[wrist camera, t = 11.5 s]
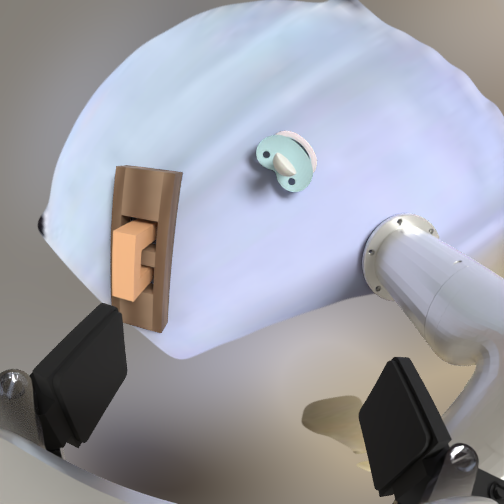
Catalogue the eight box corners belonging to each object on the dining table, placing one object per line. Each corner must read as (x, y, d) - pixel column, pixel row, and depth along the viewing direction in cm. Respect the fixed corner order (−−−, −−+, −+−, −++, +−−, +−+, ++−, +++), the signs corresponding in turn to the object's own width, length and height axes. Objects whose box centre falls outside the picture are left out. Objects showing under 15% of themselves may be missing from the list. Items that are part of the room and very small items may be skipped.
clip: (158, 221, 36) (135, 235, 30) (153, 279, 39) (133, 301, 32) (138, 217, 36) (113, 230, 29) (134, 274, 39) (112, 295, 32)
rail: (182, 172, 34) (175, 173, 31) (167, 322, 41) (161, 333, 38) (127, 165, 34) (116, 166, 31) (120, 309, 41) (112, 319, 38)
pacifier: (286, 120, 32) (249, 153, 33) (291, 111, 26) (247, 150, 27) (326, 165, 33) (291, 196, 34) (340, 164, 27) (297, 203, 28)
